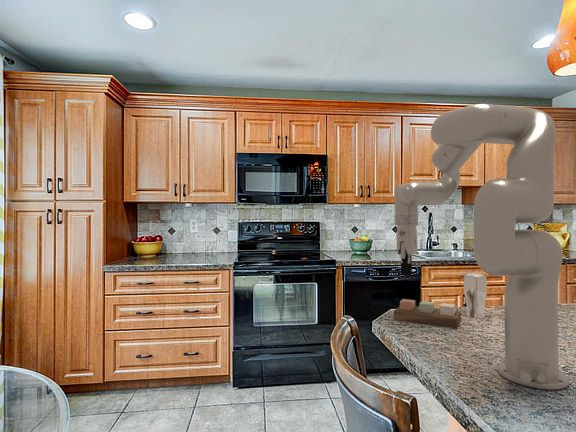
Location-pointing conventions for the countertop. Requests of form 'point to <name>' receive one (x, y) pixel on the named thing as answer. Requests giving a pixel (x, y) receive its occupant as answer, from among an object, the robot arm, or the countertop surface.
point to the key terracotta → (407, 305)
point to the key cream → (447, 309)
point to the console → (428, 318)
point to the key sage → (427, 307)
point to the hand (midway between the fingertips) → (406, 274)
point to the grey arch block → (475, 294)
